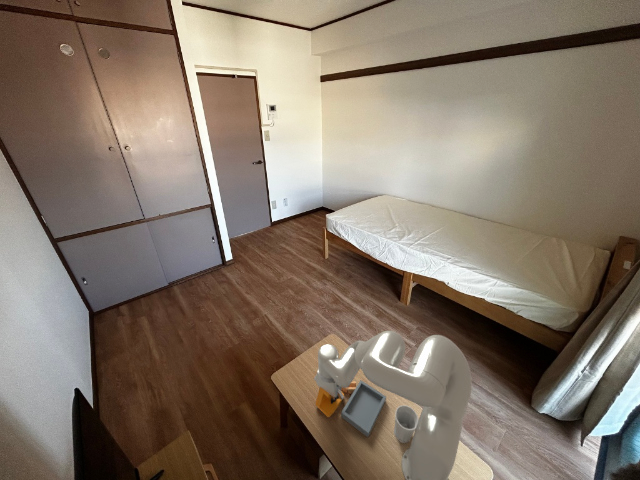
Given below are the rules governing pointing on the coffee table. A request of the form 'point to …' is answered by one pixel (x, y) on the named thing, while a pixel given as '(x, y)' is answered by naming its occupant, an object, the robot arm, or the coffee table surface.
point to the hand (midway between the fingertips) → (328, 396)
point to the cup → (405, 423)
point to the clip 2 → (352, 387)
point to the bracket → (326, 402)
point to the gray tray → (363, 407)
